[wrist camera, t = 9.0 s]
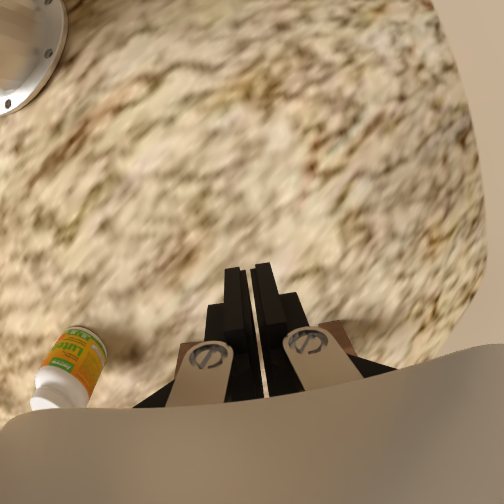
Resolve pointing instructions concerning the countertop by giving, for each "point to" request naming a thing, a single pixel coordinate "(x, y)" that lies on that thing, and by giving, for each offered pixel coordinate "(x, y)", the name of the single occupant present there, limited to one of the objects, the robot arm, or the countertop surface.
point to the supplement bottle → (69, 371)
